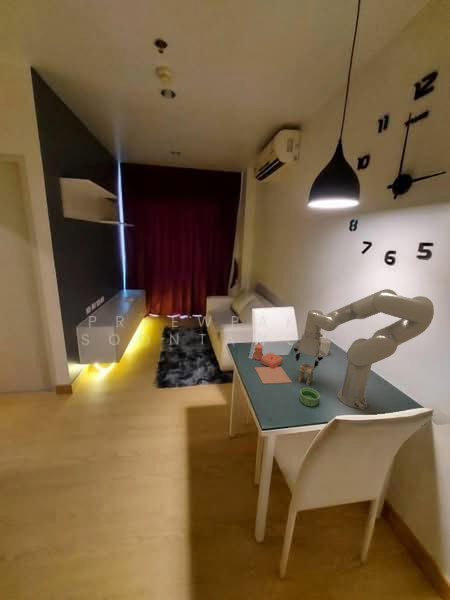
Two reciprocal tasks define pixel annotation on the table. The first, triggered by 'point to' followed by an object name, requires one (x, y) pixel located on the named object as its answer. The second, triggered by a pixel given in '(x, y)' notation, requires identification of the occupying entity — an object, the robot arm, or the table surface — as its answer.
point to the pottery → (266, 357)
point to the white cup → (325, 346)
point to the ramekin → (309, 396)
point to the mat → (272, 375)
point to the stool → (307, 369)
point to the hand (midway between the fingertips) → (306, 363)
